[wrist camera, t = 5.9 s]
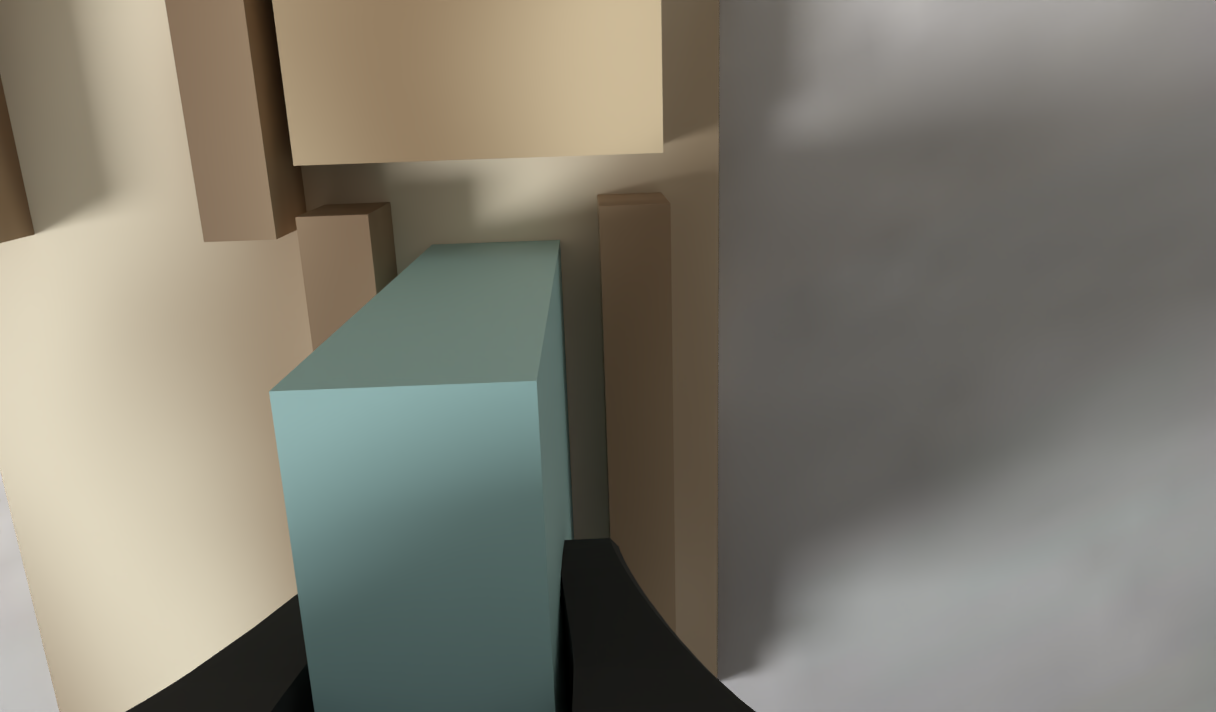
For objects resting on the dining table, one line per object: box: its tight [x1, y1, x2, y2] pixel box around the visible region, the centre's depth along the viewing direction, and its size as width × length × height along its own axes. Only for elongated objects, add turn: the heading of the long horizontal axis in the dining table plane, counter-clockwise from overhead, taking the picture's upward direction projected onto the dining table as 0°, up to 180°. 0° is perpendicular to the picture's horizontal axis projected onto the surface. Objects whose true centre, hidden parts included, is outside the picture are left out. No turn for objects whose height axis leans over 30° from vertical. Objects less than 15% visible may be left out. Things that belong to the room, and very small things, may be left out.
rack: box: [0, 0, 719, 712], centre depth 14 cm, size 12×19×2 cm, turn 2°
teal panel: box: [269, 240, 574, 712], centre depth 11 cm, size 2×8×8 cm, turn 2°
